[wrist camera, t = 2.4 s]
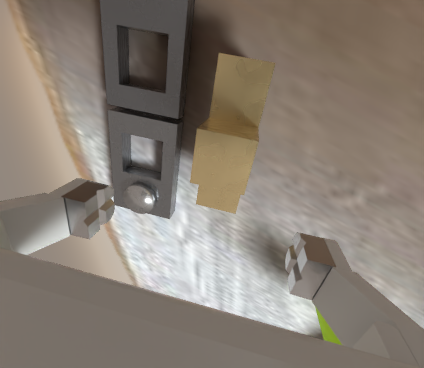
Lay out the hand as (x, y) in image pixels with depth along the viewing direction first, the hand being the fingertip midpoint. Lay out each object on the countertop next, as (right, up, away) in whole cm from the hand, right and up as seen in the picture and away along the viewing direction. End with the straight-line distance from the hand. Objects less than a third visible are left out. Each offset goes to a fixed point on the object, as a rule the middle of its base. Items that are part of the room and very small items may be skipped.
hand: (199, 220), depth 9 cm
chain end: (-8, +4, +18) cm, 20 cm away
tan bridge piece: (+3, +8, +14) cm, 17 cm away
